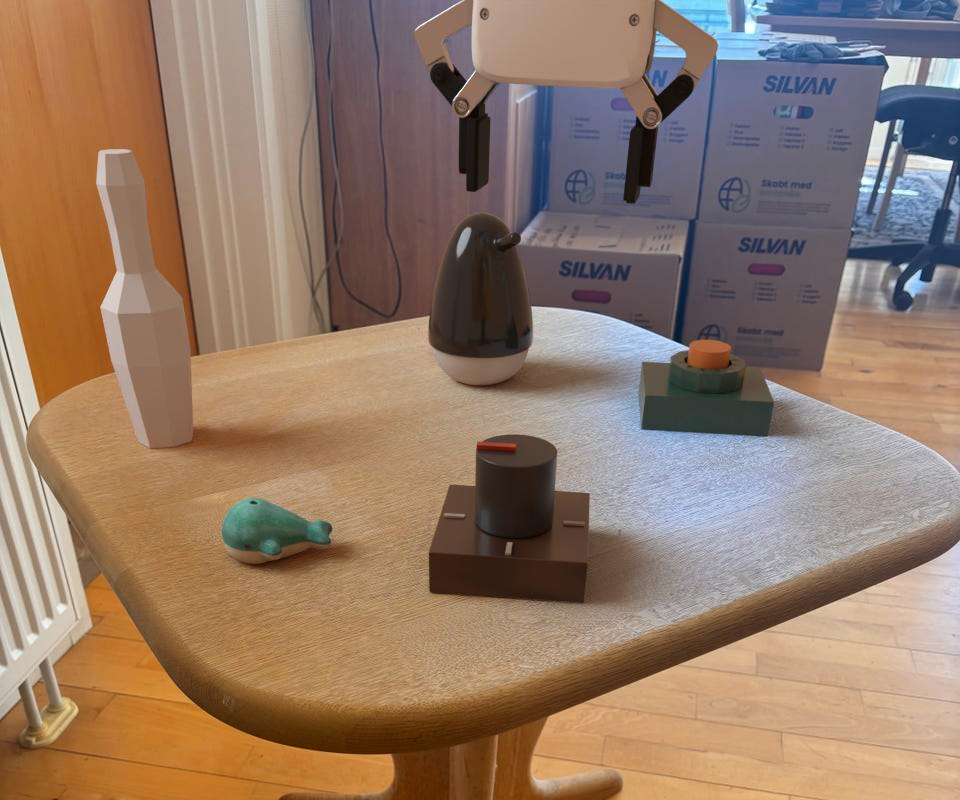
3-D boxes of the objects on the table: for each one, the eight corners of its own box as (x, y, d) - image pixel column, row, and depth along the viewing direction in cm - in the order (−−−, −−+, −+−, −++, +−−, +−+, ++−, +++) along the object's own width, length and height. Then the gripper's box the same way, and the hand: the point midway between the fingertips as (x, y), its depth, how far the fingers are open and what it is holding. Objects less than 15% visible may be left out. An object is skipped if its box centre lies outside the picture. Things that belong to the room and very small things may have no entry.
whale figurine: (232, 532, 69) (225, 483, 67) (336, 530, 69) (332, 482, 67) (218, 573, 64) (210, 522, 62) (330, 572, 65) (325, 521, 62)
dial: (554, 504, 67) (559, 431, 64) (551, 541, 62) (555, 464, 59) (479, 500, 67) (480, 427, 64) (470, 535, 63) (471, 459, 60)
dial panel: (586, 530, 70) (590, 490, 68) (584, 603, 62) (588, 560, 60) (449, 521, 71) (449, 481, 69) (429, 592, 63) (428, 549, 61)
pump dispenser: (469, 403, 90) (471, 230, 82) (409, 371, 97) (404, 209, 89) (553, 382, 95) (563, 217, 87) (490, 353, 102) (493, 197, 94)
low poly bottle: (136, 457, 79) (76, 160, 67) (120, 430, 84) (61, 147, 71) (213, 443, 82) (169, 155, 69) (193, 418, 86) (149, 143, 74)
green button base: (754, 400, 92) (764, 348, 89) (767, 437, 85) (778, 381, 82) (638, 394, 93) (644, 342, 90) (641, 430, 86) (647, 374, 83)
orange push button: (725, 359, 88) (728, 340, 87) (730, 373, 85) (733, 353, 84) (685, 357, 88) (688, 338, 87) (688, 371, 85) (691, 351, 84)
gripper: (748, -157, 51) (698, 193, 61) (434, -159, 54) (434, 174, 64) (746, -176, 45) (691, 216, 55) (393, -177, 48) (400, 194, 58)
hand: (553, 193), depth 60 cm, fingers open, 9 cm apart
